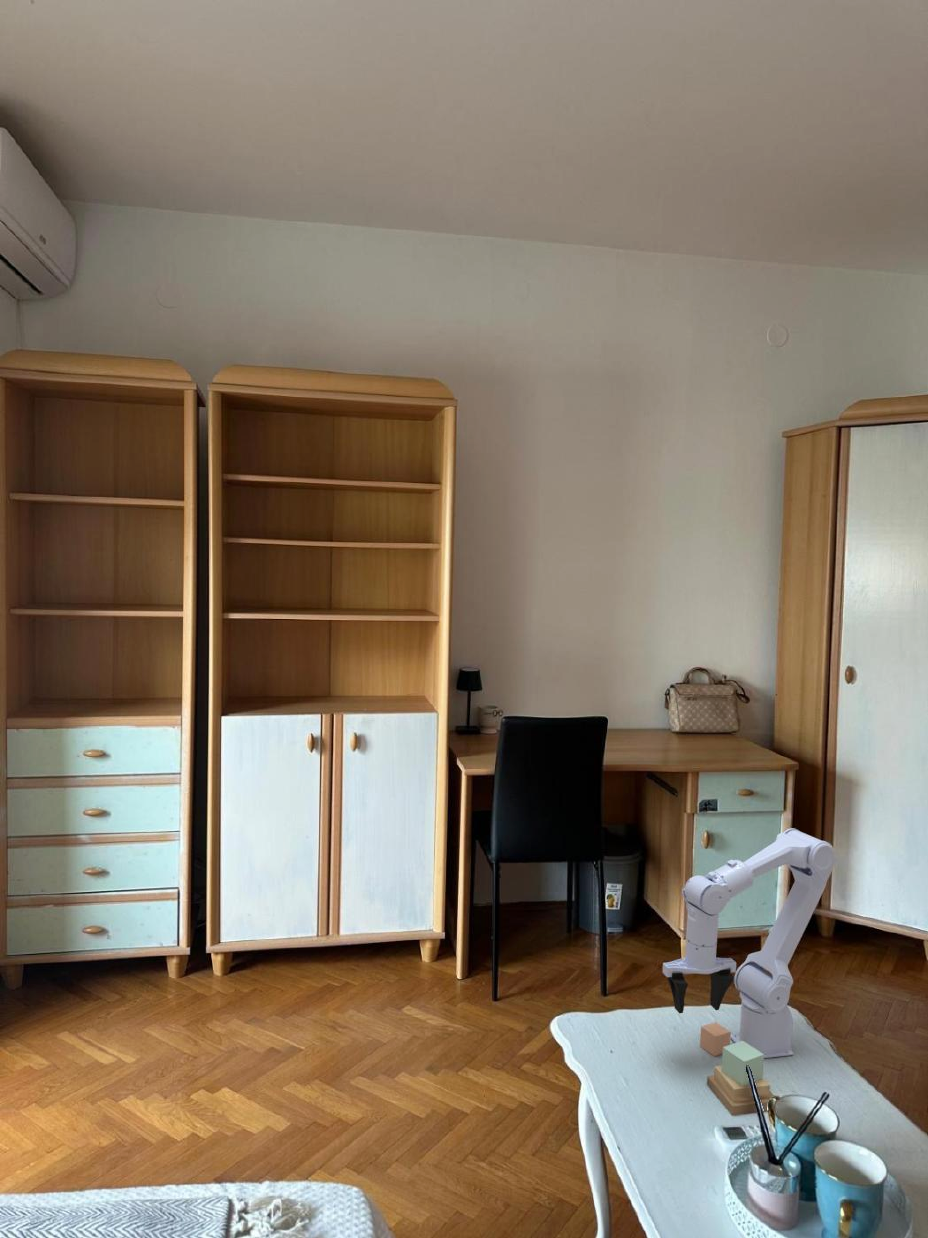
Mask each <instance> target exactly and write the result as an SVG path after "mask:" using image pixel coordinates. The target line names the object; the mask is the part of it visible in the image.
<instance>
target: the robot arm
mask: <svg viewBox="0 0 928 1238" xmlns="http://www.w3.org/2000/svg"><path fill="white" fill-rule="evenodd" d="M837 861H838V860H837V856H836V853H835V850H834V847H833V845H832V844H831V843H830V842H828V841H825V840H821V839H819V838H816V837H814V836H812V835H809V834H807V833H805V832H802V831H800V830H798V829H797V828H794V827H793V828H791V827H790V828H787V829H785V830H784V831H783V832H781V833H778V834H777V836H776V838H775V840H774V842H772V843H771V844H769V845H768V846H766V847H764V848H763V849H761V850H760V851H758V852H756V853H755V854H754V855H752V856H751V857H749V858H748V859H746V860H744V861H742V860H738V859H730V860H728V861H726V864H723V866H721V867H719V868H717V869H714V870H713V871H709V872H707V874H705V875H700V874H699V875H697V874H696V875H695V876H692V877H690V878H689V879H688V880H687V881H686V883H685V885H684V888H682V889H681V893H682V898H683V899H684V901H685V903H686V904H685V906H686V907H685V908H686V911H687V916H686V917H687V919H686V935H685V947H684V951H685V952H684V957H682V958H679V959H675V960H672V961H669V962H663V963H662V974H663V975H664V976H665V977H666V980H667V981H668V984H669V987H670V991H671V994H672V999H673V1005H674V1010H675V1011H677V1012H678V1014H683V1013H684V1010H685V998H686V997H685V996H686V992H687V989H688V986H689V983H688V982H687V981H686V979H685V976H684V975H691V974H692V975H693V974H699V975H710V977H709V978H710V995H709V997H710V998H709V1003H710V1006H711V1007H712V1008H713V1009H714V1010H715V1011H719V1010H720V1008H721V1005H722V1002H723V998H724V996H725V995H726V993H727V991H728V989H729V988H730V986H731V985H732V984H733V983H734V986H735V989H736V990H737V991H739V998H740V999H741V1003H740V1004H741V1005H740V1022H739V1025H740V1026H739V1034H730V1040H732V1041H733V1043H737V1042H740V1041H744V1042H746V1043H747V1044H749V1045H750V1046H752V1047H753V1048H755V1049H756V1050H758V1051H759V1052H761V1053H762V1054H764V1059H770V1058H776V1057H778V1058H779V1057H786V1056H787V1057H788V1056H794V1051H793V1050H792V1042H793V1039H792V1038H793V1023H794V1022H793V1016H792V1012H791V1010H790V1007H789V1006H788V1005H787V1004H788V1003H789V1001H790V995H791V993H790V992H791V990H792V989H791V988H792V986H793V984H794V980H793V979H794V978H793V977H792V974H791V972H790V970H789V966H788V965H789V964H790V961H791V959H792V957H793V955H794V953H795V950H796V949H797V946H798V945H799V943H800V941H801V938H802V937H803V934H804V932H805V931H806V928H807V927H808V924H809V922H810V920H811V918H812V915H813V914H814V911H815V909H816V908H817V905H818V904H819V901H820V899H821V896H822V894H823V893H824V890H825V889H826V887H827V882H828V880H829V878H830V876H831V874H832V871H833V869H834V868H835V866H836V863H837ZM785 865H787V866H788V868H789V869H790V871H791V872H792V873H791V874H792V875H793V878H794V883H793V884H792V887H791V889H790V891H789V893H788V895H787V897H786V899H785V901H784V903H783V905H782V906H781V910H780V911H779V913H778V914H777V917H776V920H775V921H774V923H773V925H772V928H771V930H770V932H769V934H768V936H767V938H766V940H765V942H764V943H763V946H762V948H761V950H760V951H755V952H752V953H750V954H748V955H747V956H746V959H745V961H744V962H743V963H742V964H741V965H740V966H738V968H737V962H736V961H735V959H734V960H733V958H732V957H728V958H727V957H717V944H718V933H719V932H718V930H719V918H720V917H719V914H720V913H721V912H723V910H724V909H725V907H726V905H727V904H728V903H729V902H730V900H731V898H733V897H734V898H735V896H738V895H739V894H741V893H743V892H745V891H747V890H748V889H751V887H752V886H753V884H754V881H755V880H754V879H755V878H758V877H760V876H762V875H764V874H766V873H769V872H771V871H772V870H775V869H778V868H780V867H782V866H785ZM767 971H768V972H769V973H768V972H767ZM732 973H734V976H733V975H732Z"/></svg>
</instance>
